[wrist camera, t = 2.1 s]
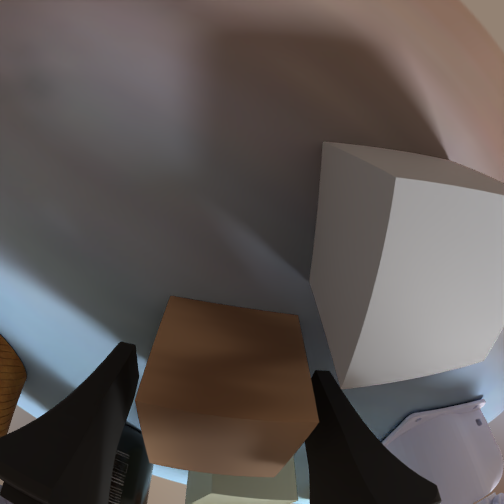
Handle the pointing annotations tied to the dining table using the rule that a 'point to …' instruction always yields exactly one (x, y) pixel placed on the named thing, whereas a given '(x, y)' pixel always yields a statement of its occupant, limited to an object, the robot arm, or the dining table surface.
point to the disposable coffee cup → (9, 384)
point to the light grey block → (406, 263)
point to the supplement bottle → (130, 470)
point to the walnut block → (226, 390)
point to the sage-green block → (242, 488)
